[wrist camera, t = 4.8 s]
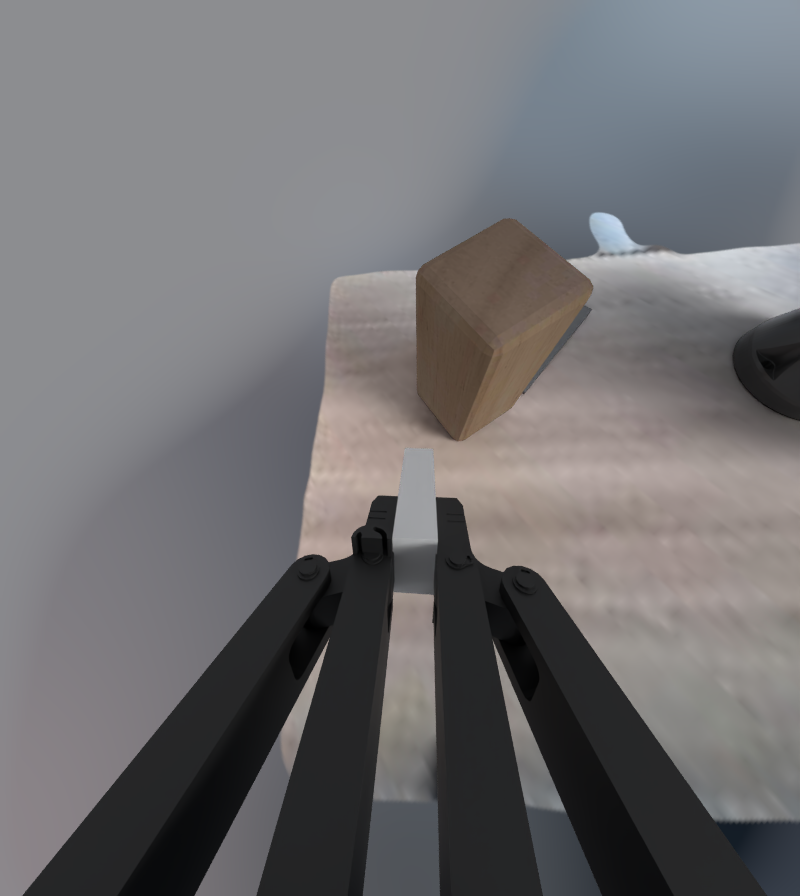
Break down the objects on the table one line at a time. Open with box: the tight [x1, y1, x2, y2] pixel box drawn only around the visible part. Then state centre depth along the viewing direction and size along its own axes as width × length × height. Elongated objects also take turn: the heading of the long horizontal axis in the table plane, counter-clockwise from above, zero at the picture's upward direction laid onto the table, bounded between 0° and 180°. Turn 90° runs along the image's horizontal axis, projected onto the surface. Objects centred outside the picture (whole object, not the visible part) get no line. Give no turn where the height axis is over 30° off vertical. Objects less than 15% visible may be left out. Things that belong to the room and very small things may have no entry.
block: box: [416, 218, 593, 441], centre depth 30 cm, size 10×10×20 cm
